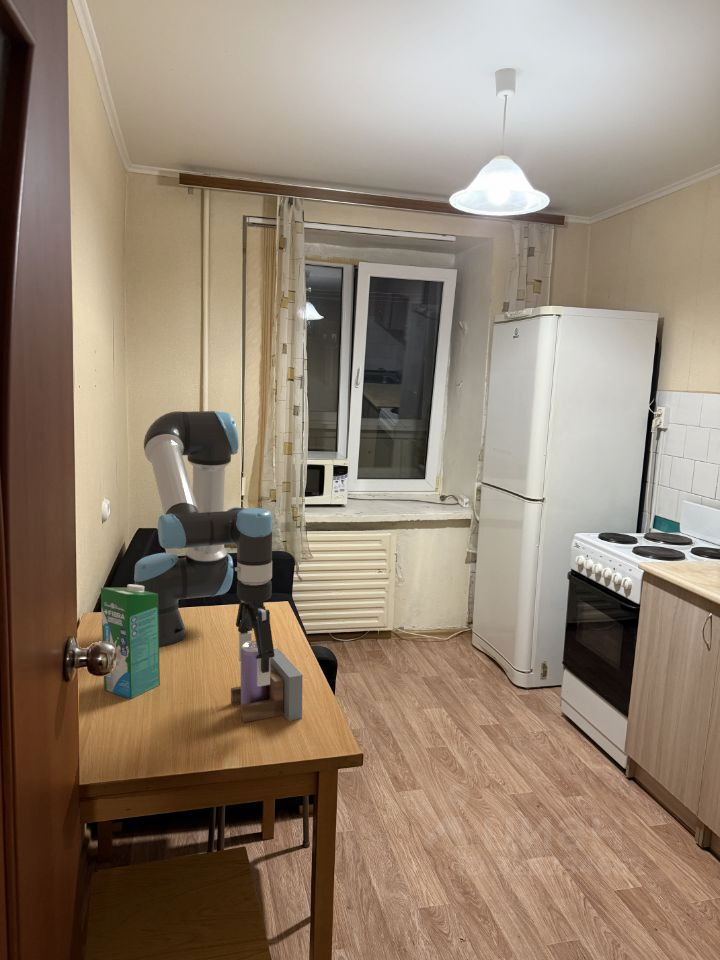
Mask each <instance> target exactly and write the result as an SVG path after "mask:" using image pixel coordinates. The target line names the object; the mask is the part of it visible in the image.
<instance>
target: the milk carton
mask: <svg viewBox="0 0 720 960" xmlns="http://www.w3.org/2000/svg"><path fill="white" fill-rule="evenodd" d="M100 602H101V603H100V605H101V608H100V609H101V633H102V642H103V641H108V642H111V643H113V644H114V645H115V647H116V650H117V661H116V666H115V669H114V670H113V672H111V673H110V674H109V675H106V676H104V675H103V690H105V691H106V692H107V691H108V692H110V693H112V694H116V695H118V696H120V697H123V698H127V699H129V700H132V699H134V698H136V697H138V696H140V695H142V694H144V693H147V692H148V691H150V690H152V689H154V688H156V687H159V686H160V685H161V682H160V681H161V677H160V676H161V675H160V671H161V670H160V646H159V621H158V594H156V593H152V592H148V591H144V586H142V585H135V584H127V586H126V587H101V588H100Z"/></svg>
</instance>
